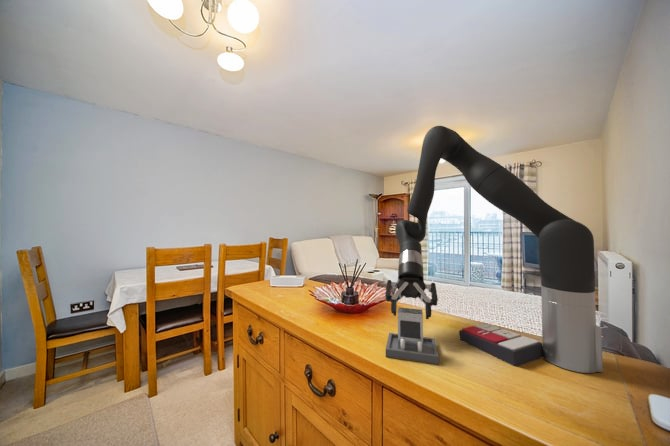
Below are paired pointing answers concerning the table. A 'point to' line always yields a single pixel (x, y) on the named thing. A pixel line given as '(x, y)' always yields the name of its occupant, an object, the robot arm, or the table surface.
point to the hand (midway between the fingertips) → (410, 316)
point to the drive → (410, 327)
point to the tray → (425, 356)
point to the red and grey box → (502, 344)
